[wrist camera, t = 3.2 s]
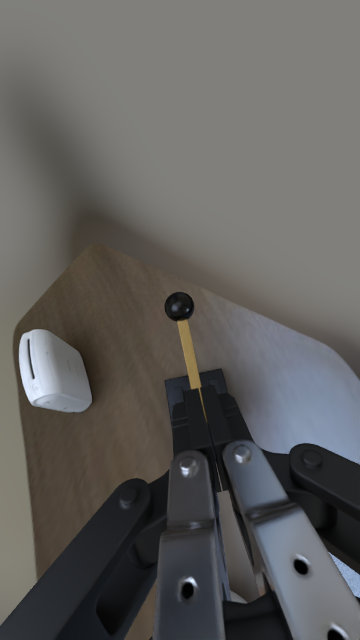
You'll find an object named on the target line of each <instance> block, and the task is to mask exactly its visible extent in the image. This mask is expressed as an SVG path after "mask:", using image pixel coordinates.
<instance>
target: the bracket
mask: <svg viewBox="0 0 360 640" xmlns="http://www.w3.org/2000/svg"><path fill="white" fill-rule="evenodd" d="M199 378H200V383H201V387H204V386H209V385H214V386H215V389H216V391H217V394H223V393H228V391H227V387H226V383H225V380H224V376H223V372H222V369H217V370H212V371H207V372H202V373H199ZM165 386H166V392H167V399H168V405H169V412H170V418H171V425H172V410H173V408H174V406H175V404H176V403H181V402H185V394H184V391H186V390H190V389H191V385H190V380H189V376H183V377H178V378H173V379H169V380H165ZM207 426H208V425H207ZM172 429H173V428H172ZM208 431H209V429H208ZM209 435H210V434H209ZM210 439H211V438H210ZM211 443H212V442H211ZM212 448H213V446H212ZM213 453H214V450H213ZM214 458H215V455H214ZM215 462H216V459H215Z"/></svg>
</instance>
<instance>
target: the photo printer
mask: <svg viewBox="0 0 360 640" xmlns="http://www.w3.org/2000/svg"><path fill="white" fill-rule="evenodd" d="M19 363H20V370H21V377H22V381H23V385H24V389H25V392H26V395H27V397H28V399H29V401H30V403H31V404H32V405H33V406H38V407H43V408H48V409H54V410H59V411H64V412H69V413H71V412H82V411H84V410H86V409H87V408H88V407H89V406H90V404H91V403H92V395H91V390H90V386H89V382H88V378H87V374H86V370H85V367H84V363H83V360H82V357H81V355H80V353H79V352H78V351H77V350H75V349H74V348H73V347H71V346H70V345H68V344H67V343H65V342H64V341H62V340H61V339H60V338H58V337H57V336H55V335H54V334H52V333H51V332H49V331H47V330H41V329H37V330H32V331H30V332H28V333H24V334H23V336H22V338H21V341H20V347H19Z"/></svg>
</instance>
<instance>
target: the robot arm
mask: <svg viewBox="0 0 360 640" xmlns="http://www.w3.org/2000/svg"><path fill="white" fill-rule="evenodd" d="M200 392H201V397H202V401H201V397H200V393H199V388H195V389H190V390H186V391H184V394H185V402H181V403H176V404H175V406H174V408H173V410H172V428H173V429H172V432H173V453H174V458H173V460H172V462H171V464H170V469H169V470H168V471H167V472H166V473H165V474H164V475H163V476H162V477H160V478H158V479H157V480H155V481H153V482H151V483H149V484H147V482H145V481H144V480H142V479H138V478H135V479H130V480H127V481H125V482H124V483H122V484H121V485H119V486H118V487H117V488H116V489H115V491H114V492H113V493H112V494H111V495H110V497H109V498H108V499H107V500H106V501H105V502H104V504H103V505H102V506H101V507H100V508H99V510H98V511H97V512H96V513H95V514H94V515H93V517H92V518H91V519H90V520H89V521H88V523H87V524H86V525H85V526H84V527H83V528H82V530H81V531H80V532H79V533H78V534H77V536H76V537H75V538H74V539H73V540H72V542H71V543H70V544H69V545H68V546H67V547H66V549H65V550H64V551H63V552H62V553H61V555H60V556H59V557H58V558H57V559H56V560H55V562H54V563H53V564H52V565H51V566H50V568H49V569H48V570H47V571H46V572H45V573H44V575H43V576H42V577H41V578H40V579H39V581H38V582H37V583H36V584H35V585H34V586H33V588H32V589H31V590H30V591H29V592H28V594H27V595H26V596H25V597H24V598H23V600H22V601H21V602H20V603H19V604H18V605H17V607H16V608H15V609H14V610H13V611H12V613H11V614H10V615H9V616H8V617H7V619H6V620H5V621H4V622H3V623H2V625H1V626H0V640H124V638H125V636H126V634H127V632H128V631H129V629H130V627H131V625H132V623H133V621H134V619H135V618H136V616H137V614H138V612H139V610H140V608H141V606H142V605H143V603H144V601H145V599H146V597H147V595H148V594H149V592H150V590H151V588H152V586H153V584H154V582H155V581H156V579H157V585H156V598H155V611H154V625H153V636H152V637H151V638H150V639H149V640H360V598H359V597H357V596H354V594H353V592H352V591H351V589H350V587H349V586H348V584H347V582H346V581H345V579H344V577H343V576H342V574H341V572H340V571H339V569H338V567H337V566H336V564H335V562H334V561H333V559H332V557H331V556H330V554H329V552H330V553H331V554H332V555H334V556H335V557H336V558H338V559H339V560H341V561H342V562H343V563H345V564H346V565H347V566H349V567H350V568H351V569H353V570H354V571H355V572H357V573H358V574H359V575H360V465H359V464H357V463H355V462H353V461H350V460H348V459H346V458H344V457H342V456H340V455H338V454H335V453H333V452H331V451H329V450H327V449H325V448H322V447H320V446H318V445H314V444H309V443H303V444H298V445H296V446H294V447H293V448H292V449H291V450H290V452H289V454H279V453H272V452H268V451H266V450H264V449H262V448H260V447H259V446H258V445H257V444H256V443H255V442H254V441H253V439H252V437H251V434H250V432H249V430H248V428H247V425H246V423H245V421H244V419H243V416H242V414H241V412H240V410H239V408H238V405H237V403H236V401H235V399H234V398H233V397H232V396H231V395H230V394H228V393H223V394H217V391H216V389H215V386H214V385H209V386H204V387H200ZM202 402H203V405H202ZM203 407H204V410H203ZM204 411H205V414H204ZM205 416H206V418H205ZM206 421H207V422H206ZM207 425H208V426H207ZM208 429H209V431H208ZM209 434H210V435H209ZM210 438H211V439H210ZM211 442H212V443H211ZM212 446H213V448H212ZM213 450H214V453H213ZM214 455H215V458H214ZM215 459H216V463H217V467H218V472H219V476H220V480H221V484H222V488H223V491H226V490H229V494H230V498H231V501H232V507H233V512H234V515H235V518H236V521H237V524H238V527H239V530H240V533H241V536H242V539H243V542H244V545H245V548H246V551H247V554H248V557H249V560H250V563H251V566H252V569H253V572H254V576H255V579H256V583H257V586H258V590H259V594H260V597H259V598H258V599H256V600H255V601H253V602H251V603H240V602H234V601H232V600H231V594H230V588H229V582H228V575H227V567H226V560H225V552H224V545H223V537H222V530H221V522H220V515H219V502H218V497H217V492H221V487H220V482H219V477H218V472H217V468H216V463H215Z"/></svg>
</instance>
